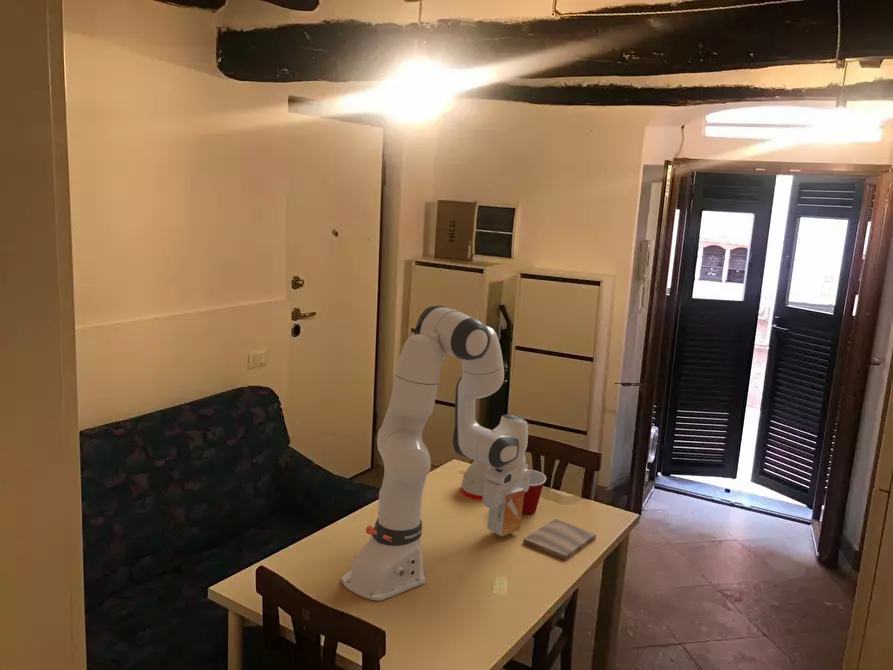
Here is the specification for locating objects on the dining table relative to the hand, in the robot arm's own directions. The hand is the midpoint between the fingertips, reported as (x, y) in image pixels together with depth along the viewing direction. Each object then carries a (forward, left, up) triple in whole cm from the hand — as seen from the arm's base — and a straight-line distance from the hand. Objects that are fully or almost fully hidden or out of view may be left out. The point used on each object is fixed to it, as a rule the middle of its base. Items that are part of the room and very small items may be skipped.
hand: (505, 513), depth 216 cm
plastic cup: (+18, +4, -7) cm, 20 cm away
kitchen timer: (+20, +23, -7) cm, 31 cm away
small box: (0, 0, -5) cm, 5 cm away
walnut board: (+8, -14, -7) cm, 18 cm away
